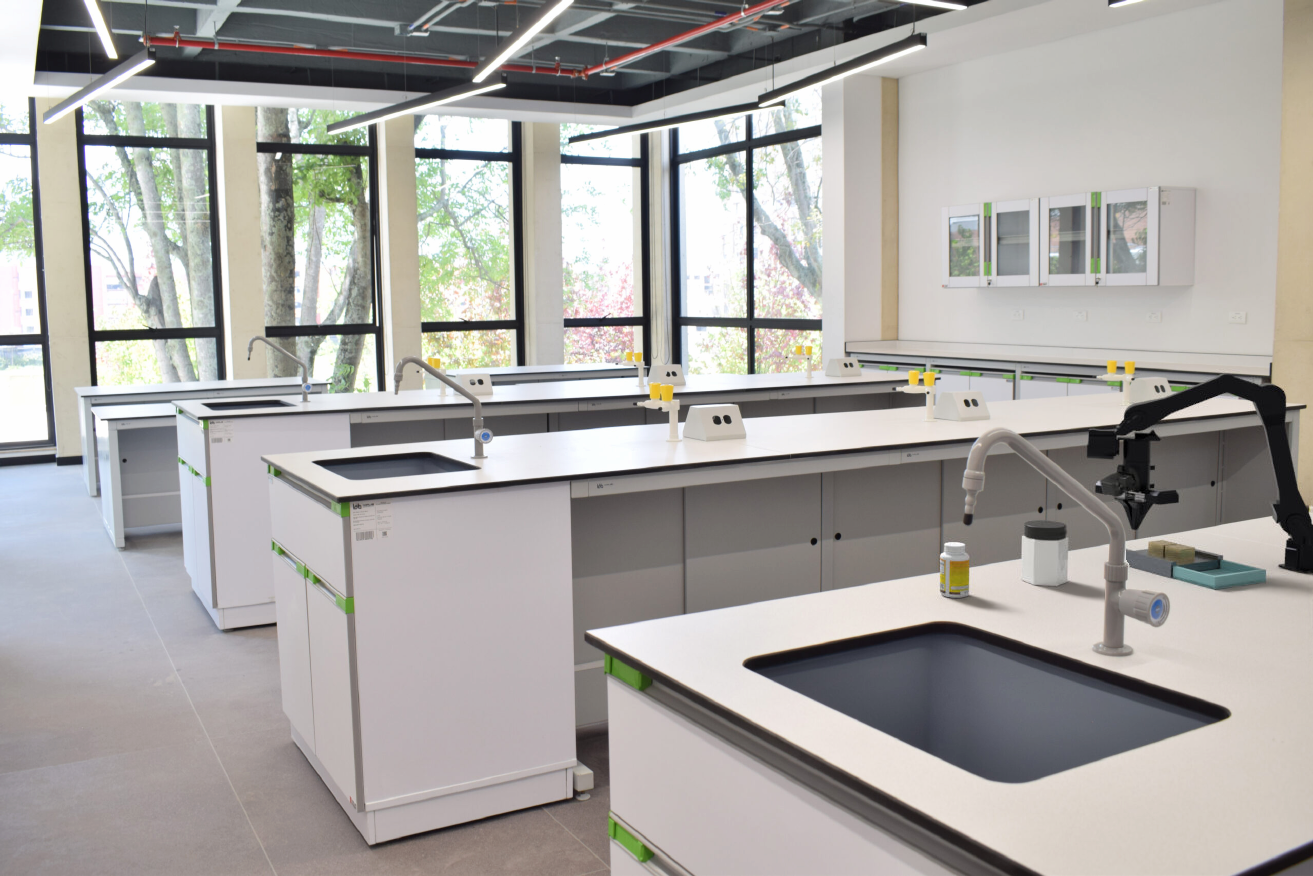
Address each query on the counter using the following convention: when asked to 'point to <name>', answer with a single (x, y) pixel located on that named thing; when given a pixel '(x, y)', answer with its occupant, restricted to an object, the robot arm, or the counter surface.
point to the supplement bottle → (954, 571)
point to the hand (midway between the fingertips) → (1134, 529)
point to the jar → (1044, 553)
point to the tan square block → (1158, 547)
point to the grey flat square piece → (1172, 562)
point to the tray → (1222, 575)
